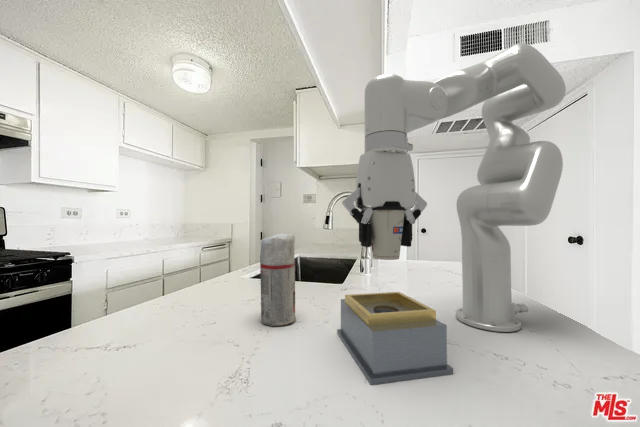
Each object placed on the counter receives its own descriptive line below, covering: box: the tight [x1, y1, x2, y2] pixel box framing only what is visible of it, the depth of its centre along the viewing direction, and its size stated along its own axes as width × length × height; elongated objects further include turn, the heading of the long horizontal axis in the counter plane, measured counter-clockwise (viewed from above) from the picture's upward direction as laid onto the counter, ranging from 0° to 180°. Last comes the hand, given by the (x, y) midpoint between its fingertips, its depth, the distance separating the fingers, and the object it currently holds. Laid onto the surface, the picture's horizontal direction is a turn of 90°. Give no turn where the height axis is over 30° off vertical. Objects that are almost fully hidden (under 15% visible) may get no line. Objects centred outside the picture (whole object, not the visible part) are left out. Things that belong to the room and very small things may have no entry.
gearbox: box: [336, 291, 454, 386], centre depth 46 cm, size 17×15×8 cm
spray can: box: [259, 233, 297, 327], centre depth 60 cm, size 8×8×20 cm
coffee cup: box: [369, 201, 406, 261], centre depth 47 cm, size 7×7×10 cm
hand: (385, 245), depth 46 cm, fingers closed on coffee cup, 7 cm apart
